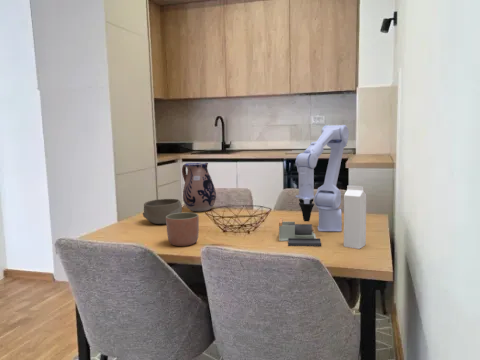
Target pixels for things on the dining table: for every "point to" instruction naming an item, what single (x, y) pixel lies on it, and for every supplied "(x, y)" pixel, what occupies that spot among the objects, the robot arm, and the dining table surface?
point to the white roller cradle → (291, 232)
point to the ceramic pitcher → (198, 187)
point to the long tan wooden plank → (280, 221)
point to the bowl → (161, 209)
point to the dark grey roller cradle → (304, 242)
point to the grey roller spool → (303, 229)
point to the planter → (182, 228)
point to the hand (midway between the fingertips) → (306, 219)
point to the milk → (354, 217)
